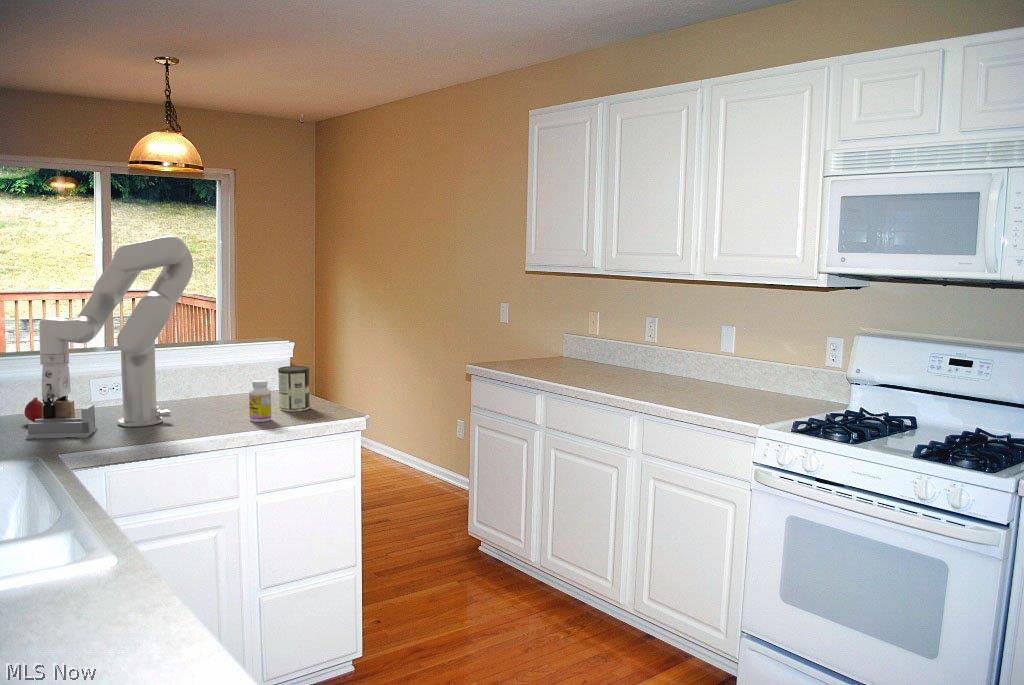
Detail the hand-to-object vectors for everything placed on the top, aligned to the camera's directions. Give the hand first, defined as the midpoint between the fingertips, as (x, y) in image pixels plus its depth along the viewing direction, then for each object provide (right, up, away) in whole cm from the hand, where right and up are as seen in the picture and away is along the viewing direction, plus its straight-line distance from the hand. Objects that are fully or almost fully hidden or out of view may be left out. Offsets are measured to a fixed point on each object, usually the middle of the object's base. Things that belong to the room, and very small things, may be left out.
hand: (55, 415), depth 241 cm
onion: (-10, -3, +6) cm, 12 cm away
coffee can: (+63, -1, +33) cm, 71 cm away
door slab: (+1, -4, +1) cm, 4 cm away
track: (+6, -5, -7) cm, 11 cm away
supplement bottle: (+57, -3, +15) cm, 59 cm away
